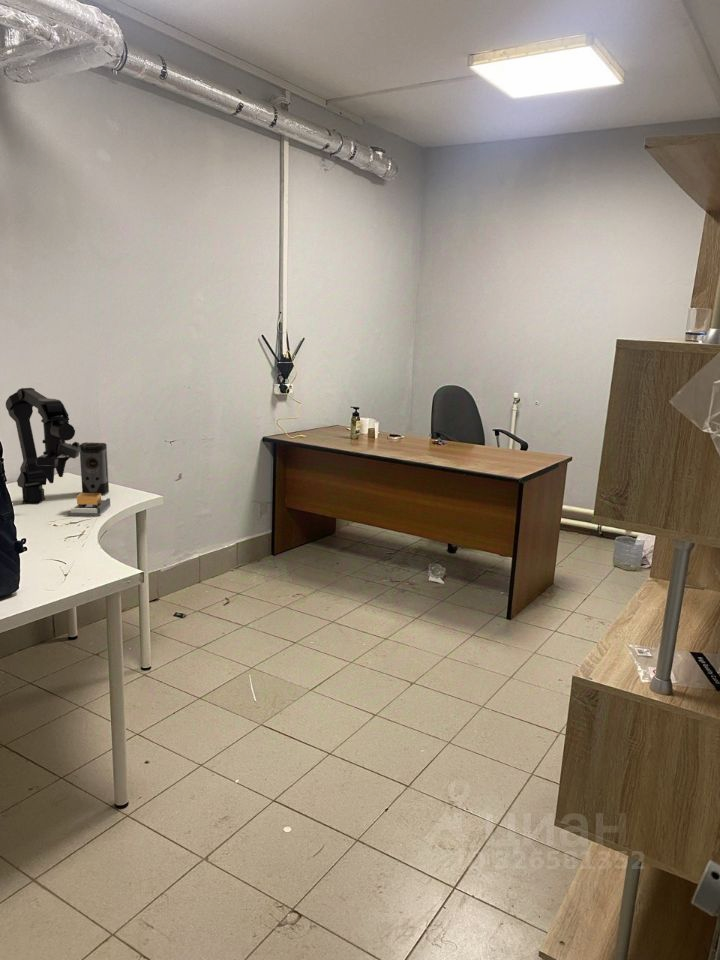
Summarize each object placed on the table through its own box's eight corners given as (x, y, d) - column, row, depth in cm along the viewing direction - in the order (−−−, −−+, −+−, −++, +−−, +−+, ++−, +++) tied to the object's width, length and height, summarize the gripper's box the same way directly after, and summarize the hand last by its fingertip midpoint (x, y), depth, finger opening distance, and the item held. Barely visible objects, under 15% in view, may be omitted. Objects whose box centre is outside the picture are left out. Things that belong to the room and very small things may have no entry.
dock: (68, 515, 242) (67, 507, 241) (80, 505, 254) (79, 497, 254) (100, 516, 243) (99, 507, 242) (110, 506, 255) (110, 498, 254)
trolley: (77, 509, 246) (76, 496, 244) (82, 506, 250) (81, 492, 249) (97, 510, 246) (96, 496, 245) (101, 506, 251) (100, 493, 250)
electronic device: (81, 495, 268) (78, 444, 264) (86, 491, 274) (83, 442, 269) (105, 495, 269) (102, 445, 264) (110, 491, 274) (107, 442, 270)
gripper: (67, 441, 230) (70, 486, 233) (85, 432, 248) (88, 474, 252) (33, 441, 229) (37, 486, 233) (53, 431, 247) (56, 473, 251)
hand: (56, 480), depth 242 cm, fingers open, 9 cm apart
